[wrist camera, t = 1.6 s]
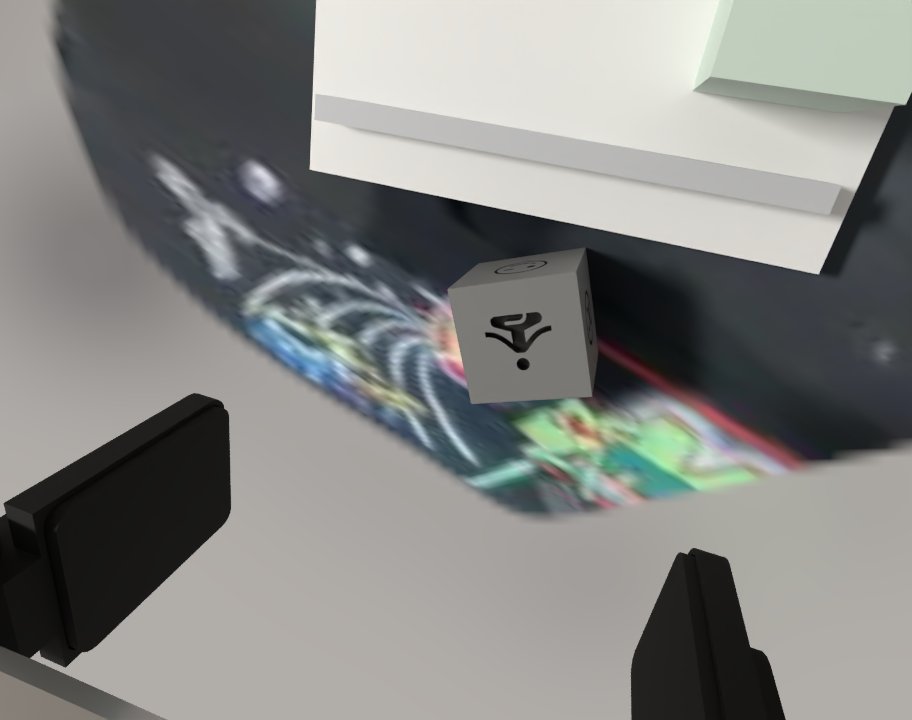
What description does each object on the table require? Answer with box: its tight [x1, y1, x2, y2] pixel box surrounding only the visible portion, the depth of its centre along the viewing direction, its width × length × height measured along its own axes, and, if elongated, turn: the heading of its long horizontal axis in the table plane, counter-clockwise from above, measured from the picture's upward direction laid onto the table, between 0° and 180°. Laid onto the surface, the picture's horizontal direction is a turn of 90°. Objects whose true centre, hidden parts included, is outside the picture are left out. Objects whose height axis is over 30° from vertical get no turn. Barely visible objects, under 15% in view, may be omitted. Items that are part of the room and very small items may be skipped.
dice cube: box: [448, 247, 599, 404], centre depth 23 cm, size 5×5×5 cm
